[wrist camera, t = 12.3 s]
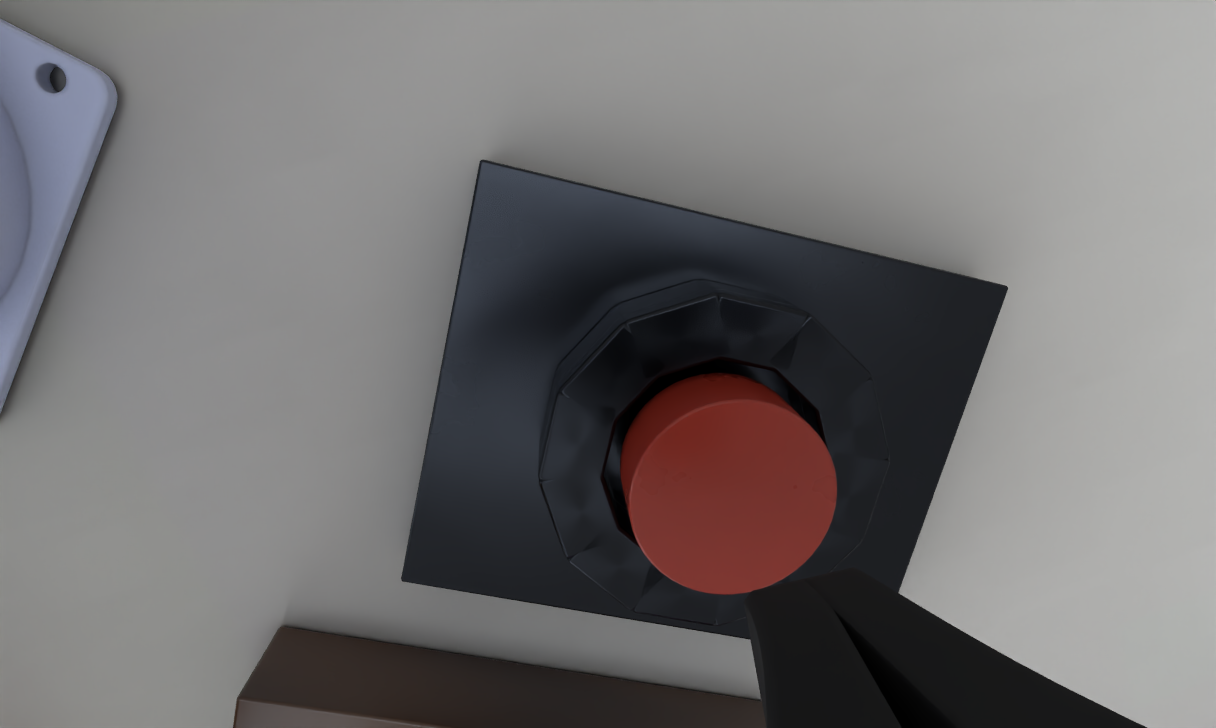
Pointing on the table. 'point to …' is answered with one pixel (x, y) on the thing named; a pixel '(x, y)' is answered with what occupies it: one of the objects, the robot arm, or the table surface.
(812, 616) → the robot arm
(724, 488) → the release button
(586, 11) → the table surface
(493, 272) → the button block
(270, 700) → the panel
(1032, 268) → the table surface
